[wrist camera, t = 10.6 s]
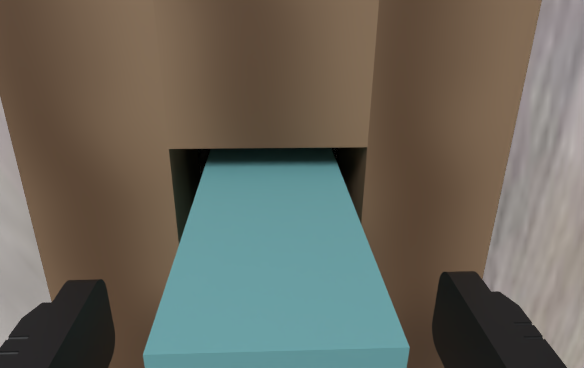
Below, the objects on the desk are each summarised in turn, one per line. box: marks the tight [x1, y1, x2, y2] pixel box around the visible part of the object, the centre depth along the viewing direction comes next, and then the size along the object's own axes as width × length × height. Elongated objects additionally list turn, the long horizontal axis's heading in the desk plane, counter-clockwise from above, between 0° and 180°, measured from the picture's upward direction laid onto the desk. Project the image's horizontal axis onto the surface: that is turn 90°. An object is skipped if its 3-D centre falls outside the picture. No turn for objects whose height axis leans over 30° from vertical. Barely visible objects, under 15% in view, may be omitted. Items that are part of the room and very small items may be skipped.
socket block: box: [0, 0, 542, 368], centre depth 16 cm, size 14×14×5 cm
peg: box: [143, 148, 410, 368], centre depth 13 cm, size 4×4×12 cm
